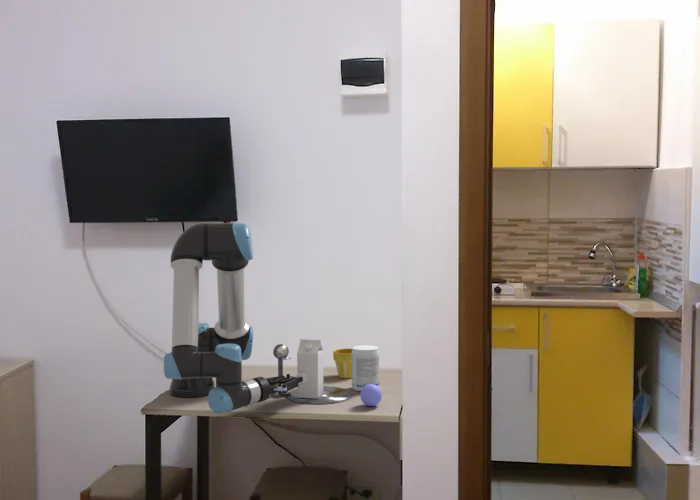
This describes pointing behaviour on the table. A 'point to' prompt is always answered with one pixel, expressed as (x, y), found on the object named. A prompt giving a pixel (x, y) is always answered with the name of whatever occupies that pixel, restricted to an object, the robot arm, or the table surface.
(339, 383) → the table surface
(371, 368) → the supplement tub
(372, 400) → the sphere
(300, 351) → the milk carton
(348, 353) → the plant pot
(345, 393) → the turntable
